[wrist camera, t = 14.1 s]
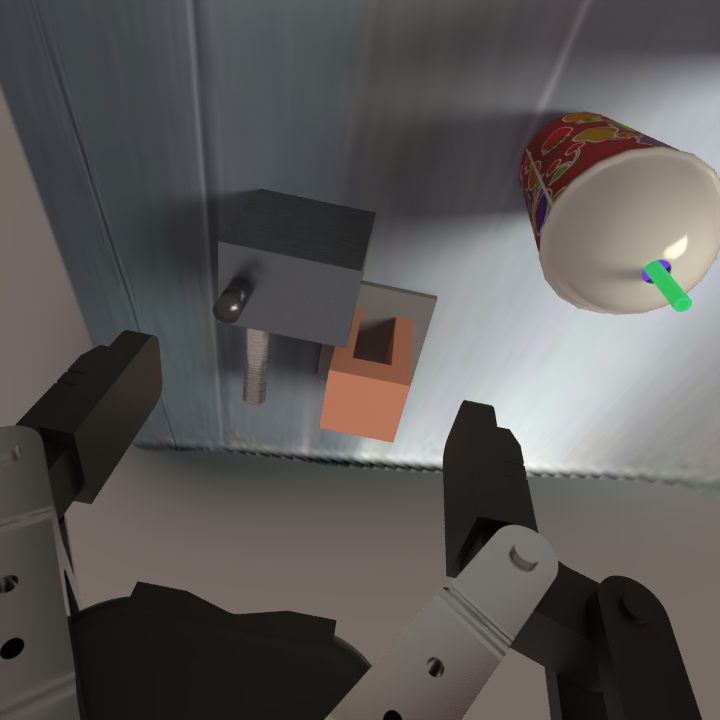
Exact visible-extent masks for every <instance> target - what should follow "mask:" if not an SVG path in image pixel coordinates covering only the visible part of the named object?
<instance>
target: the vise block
mask: <svg viewBox="0 0 720 720" xmlns="http://www.w3.org/2000/svg"><path fill="white" fill-rule="evenodd" d="M374 217H375V213H372V212H368V211H363V210H358V209H353V208H349V207H344V206H339V205H334V204H330V203H325V202H320V201H315V200H311V199H306V198H301V197H296V196H292V195H287V194H282V193H277V192H273V191H268V190H263V189H261V190H260V191H259V192H258V194H257V195H256V196H255V197H254V198H253V200H252V201H251V202H250V203H249V204H248V206H247V207H246V208H245V209H244V210H243V212H242V213H241V214H240V215H239V217H238V218H237V219H236V220H235V221H234V223H233V224H232V225H231V226H230V227H229V229H228V230H227V231H226V232H225V233H224V235H223V236H222V237H221V238H220V240H219V241H218V300H217V302H216V303H215V305H214V306H213V313H214V315H215V317H216V318H217V319H218V322H220V323H225V324H230V325H235V326H239V327H244V328H246V337H245V362H244V386H243V400H244V401H245V402H246V403H248V404H250V405H259V404H261V403H263V402H264V401H265V397H266V384H267V371H268V358H269V346H270V333H274V334H278V335H283V336H288V337H293V338H298V339H303V340H308V341H313V342H317V343H322V344H327V345H332V346H337V347H342V348H347V345H348V340H349V336H350V331H351V327H352V322H353V318H354V314H355V309H356V305H357V300H358V296H359V291H360V287H361V282H362V278H363V272H364V267H365V262H366V257H367V252H368V247H369V242H370V237H371V232H372V227H373V222H374Z"/></svg>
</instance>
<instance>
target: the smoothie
mask: <svg viewBox="0 0 720 720" xmlns="http://www.w3.org/2000/svg"><path fill="white" fill-rule="evenodd" d="M520 183H521V187H522V191H523V195H524V198H525V202H526V206H527V210H528V214H529V217H530V221H531V225H532V229H533V233H534V237H535V240H536V244H537V248H538V252H539V260H540V263H541V267H542V270H543V274H544V277H545V280H546V281H547V282H548V284H549V285H550V286H551V287H552V289H553V290H554V291H555V292H556V294H557V295H558V296H559V297H561V298H562V299H564V300H566V301H567V302H569V303H571V304H572V305H574V306H576V307H577V308H580V309H585V310H589V311H594V312H598V313H610V314H615V315H621V314H640V313H645V312H649V311H652V310H655V309H659V308H662V307H665V306H667V305H669V304H671V306H672V307H673V308H674V309H675V310H676V311H678V312H683V311H685V310H688V309H689V308H690V306H691V305H692V300H691V299H690V298H689V297H688V296H687V293H688V292H689V291H690V290H691V289H693V288H694V287H695V286H696V285H697V284H698V283H699V282H700V281H701V280H702V279H703V277H704V276H705V275H706V273H707V272H708V270H709V269H710V267H711V266H712V264H713V263H714V261H715V260H716V258H717V255H718V252H719V249H720V179H719V177H718V175H717V173H716V171H715V170H714V169H713V168H712V167H710V166H709V165H708V164H706V163H705V162H703V161H702V160H701V159H699V158H698V157H697V156H695V155H694V154H692V153H687V152H683V151H680V150H678V149H676V148H673V147H671V146H669V145H667V144H665V143H662V142H660V141H658V140H656V139H653V138H651V137H649V136H647V135H644V134H642V133H640V132H638V131H636V130H633V129H631V128H629V127H627V126H624V125H622V124H620V123H618V122H615V121H613V120H611V119H609V118H607V117H604V116H602V115H599V114H594V113H589V112H579V113H572V114H567V115H564V116H562V117H560V118H558V119H556V120H554V121H552V122H550V123H549V124H547V125H546V126H545V127H544V128H543V129H542V130H540V131H539V132H538V133H537V134H536V135H535V136H534V138H533V139H532V141H531V142H530V144H529V145H528V147H527V148H526V150H525V153H524V156H523V159H522V162H521V165H520Z"/></svg>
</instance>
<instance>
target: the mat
mask: <svg viewBox="0 0 720 720" xmlns="http://www.w3.org/2000/svg"><path fill="white" fill-rule="evenodd" d="M436 301H437V296H433V295H428V294H423V293H418V292H413V291H409V290H404V289H399V288H394V287H389V286H385V285H380V284H375V283H370V282H365V281H362V282H361V287H360V291H359V296H358V300H357V305H356V309H358V310H362V314H361V319H360V324H359V329H358V334H357V339H356V344H355V349H354V354H353V358H356V359H361V360H366V361H371V362H376V363H381V364H385V360H386V356H387V352H388V348H389V344H390V340H391V336H392V332H393V328H394V324H395V320H396V317H398V318H403V319H408V320H413V333H412V356H411V379H410V385H411V382H412V379H413V376H414V372H415V369H416V366H417V363H418V360H419V356H420V353H421V350H422V347H423V343H424V340H425V337H426V334H427V330H428V327H429V324H430V321H431V317H432V314H433V311H434V308H435V304H436ZM334 349H335V346H332V345H327V344H322V345H321V351H320V357H319V364H318V370H317V377H316V378H320V379H325V380H327V379H328V373H329V368H330V364H331V361H332V357H333V353H334ZM409 389H410V388H409Z"/></svg>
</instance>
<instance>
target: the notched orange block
mask: <svg viewBox="0 0 720 720" xmlns="http://www.w3.org/2000/svg"><path fill="white" fill-rule="evenodd" d="M361 314H362V310H358V309H355V314H354V318H353V322H352V327H351V331H350V336H349V340H348V345H347V348H342V347H337V346H335V349H334V353H333V357H332V361H331V364H330V368H329V373H328V379H327V385H326V391H325V397H324V403H323V409H322V415H321V421H320V427H319V428H322V429H327V430H332V431H337V432H342V433H347V434H352V435H358V436H363V437H368V438H373V439H378V440H383V441H388V442H394V438H395V435H396V432H397V428H398V425H399V422H400V418H401V415H402V412H403V408H404V405H405V402H406V398H407V395H408V392H409V388H410V379H411V356H412V333H413V320H408V319H403V318H398V317H396V320H395V324H394V328H393V332H392V336H391V340H390V344H389V348H388V352H387V356H386V360H385V364H381V363H376V362H371V361H366V360H361V359H356V358H353V354H354V349H355V344H356V339H357V334H358V329H359V324H360V319H361Z"/></svg>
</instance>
